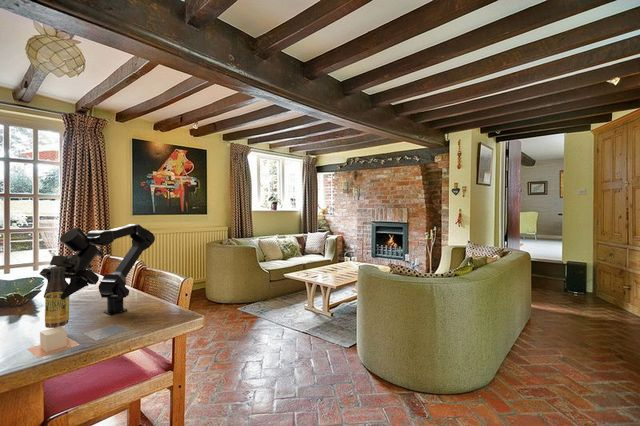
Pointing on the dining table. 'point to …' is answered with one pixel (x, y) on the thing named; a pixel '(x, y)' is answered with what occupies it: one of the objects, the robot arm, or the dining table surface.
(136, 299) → the dining table surface
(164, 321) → the dining table surface
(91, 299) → the dining table surface
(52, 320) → the sauce bottle
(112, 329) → the slate tile
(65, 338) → the cream block
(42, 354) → the terracotta tile
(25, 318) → the dining table surface
